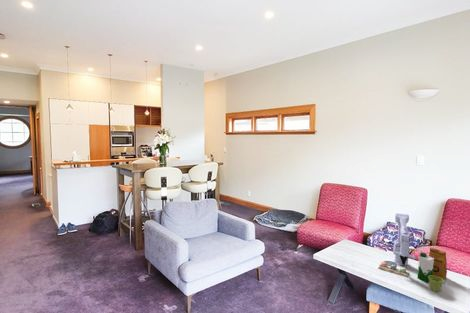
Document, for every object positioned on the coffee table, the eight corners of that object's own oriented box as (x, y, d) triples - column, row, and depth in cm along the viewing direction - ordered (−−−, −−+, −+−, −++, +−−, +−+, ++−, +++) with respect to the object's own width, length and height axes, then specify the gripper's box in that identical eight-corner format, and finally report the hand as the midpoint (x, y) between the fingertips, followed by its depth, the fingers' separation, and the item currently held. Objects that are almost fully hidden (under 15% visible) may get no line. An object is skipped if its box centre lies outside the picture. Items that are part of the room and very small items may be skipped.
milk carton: (421, 275, 220) (423, 251, 219) (434, 280, 212) (436, 255, 211) (415, 277, 216) (417, 253, 215) (427, 283, 208) (429, 258, 207)
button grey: (396, 269, 227) (396, 265, 227) (395, 270, 224) (395, 267, 224) (391, 267, 230) (391, 264, 229) (390, 269, 227) (390, 265, 226)
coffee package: (443, 281, 211) (445, 253, 210) (425, 274, 222) (427, 248, 220) (448, 278, 217) (450, 251, 215) (430, 271, 227) (432, 245, 226)
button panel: (408, 273, 223) (408, 271, 223) (407, 277, 217) (407, 275, 217) (380, 265, 237) (380, 263, 237) (378, 268, 231) (378, 266, 231)
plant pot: (424, 286, 203) (424, 275, 203) (435, 286, 204) (436, 275, 204) (434, 293, 194) (435, 282, 194) (446, 293, 195) (447, 281, 194)
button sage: (406, 271, 223) (406, 268, 222) (405, 273, 220) (405, 270, 219) (400, 270, 225) (400, 266, 225) (399, 271, 222) (400, 268, 222)
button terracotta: (387, 266, 232) (387, 262, 231) (386, 268, 229) (386, 264, 228) (381, 264, 234) (382, 261, 234) (380, 266, 231) (381, 263, 231)
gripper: (393, 247, 223) (392, 263, 224) (414, 252, 213) (413, 269, 214) (395, 245, 228) (394, 261, 229) (415, 250, 219) (414, 266, 220)
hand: (403, 265), depth 222 cm, fingers closed
